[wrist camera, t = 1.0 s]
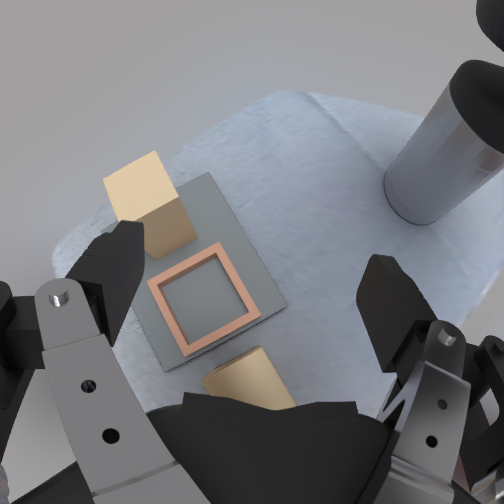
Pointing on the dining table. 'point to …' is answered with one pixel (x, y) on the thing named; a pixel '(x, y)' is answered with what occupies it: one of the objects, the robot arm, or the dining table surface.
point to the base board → (190, 262)
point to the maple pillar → (250, 381)
